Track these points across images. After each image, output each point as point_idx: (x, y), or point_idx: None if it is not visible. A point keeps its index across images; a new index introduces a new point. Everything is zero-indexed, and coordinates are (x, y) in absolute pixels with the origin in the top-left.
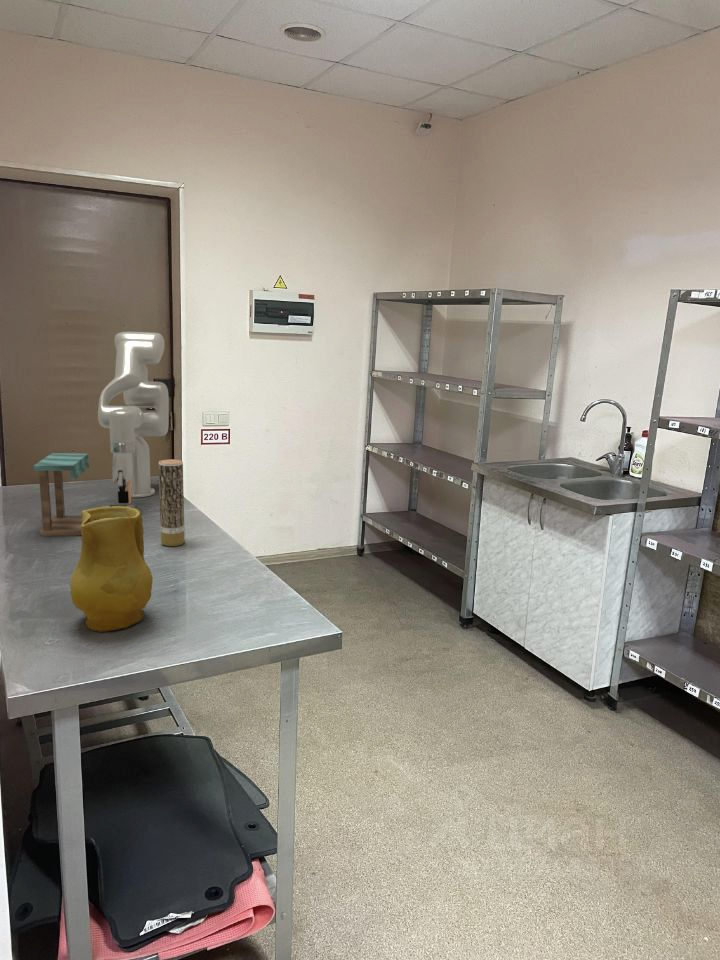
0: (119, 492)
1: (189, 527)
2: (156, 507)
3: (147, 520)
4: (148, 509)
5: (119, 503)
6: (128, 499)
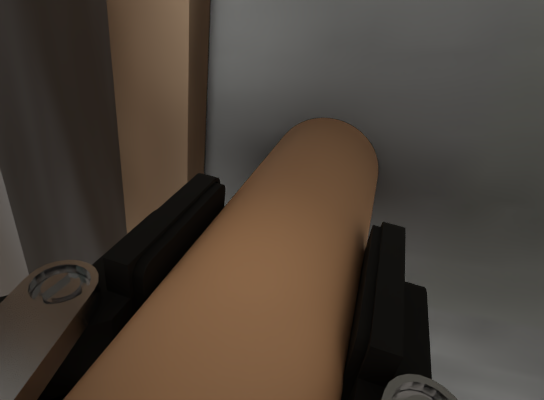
0: (114, 266)
1: None
2: (511, 394)
3: None
4: (472, 341)
5: (259, 174)
6: None
